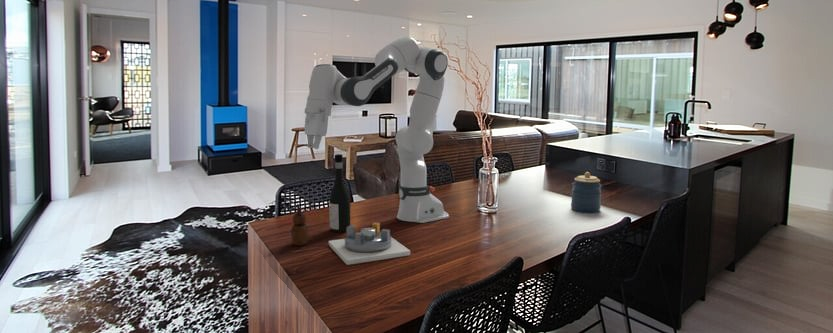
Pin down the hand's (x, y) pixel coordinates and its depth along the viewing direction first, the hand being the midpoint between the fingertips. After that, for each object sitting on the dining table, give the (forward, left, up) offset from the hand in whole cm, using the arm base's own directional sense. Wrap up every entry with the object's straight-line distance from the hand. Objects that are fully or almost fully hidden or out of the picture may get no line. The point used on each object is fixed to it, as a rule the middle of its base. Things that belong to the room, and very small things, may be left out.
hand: (312, 148), depth 174 cm
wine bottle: (-12, -11, -34) cm, 38 cm away
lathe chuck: (-14, +16, -33) cm, 39 cm away
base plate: (-14, +16, -34) cm, 41 cm away
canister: (-124, +4, -35) cm, 129 cm away
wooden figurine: (+6, 0, -34) cm, 35 cm away
